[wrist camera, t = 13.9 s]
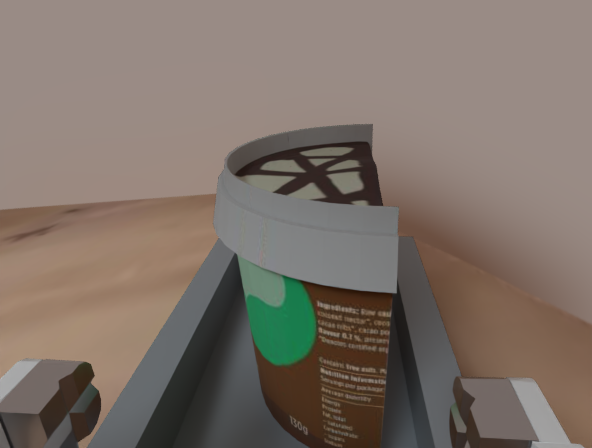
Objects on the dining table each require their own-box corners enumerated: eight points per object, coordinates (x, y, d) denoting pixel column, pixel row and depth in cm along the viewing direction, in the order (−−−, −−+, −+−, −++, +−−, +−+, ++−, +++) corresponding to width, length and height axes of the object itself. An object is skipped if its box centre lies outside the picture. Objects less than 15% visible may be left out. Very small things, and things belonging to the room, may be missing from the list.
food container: (260, 295, 26) (247, 123, 22) (366, 298, 25) (372, 121, 21) (193, 494, 14) (142, 213, 11) (382, 510, 14) (401, 215, 10)
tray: (74, 595, 13) (43, 516, 11) (226, 282, 29) (221, 234, 28) (502, 640, 12) (525, 557, 10) (408, 286, 28) (412, 236, 27)
